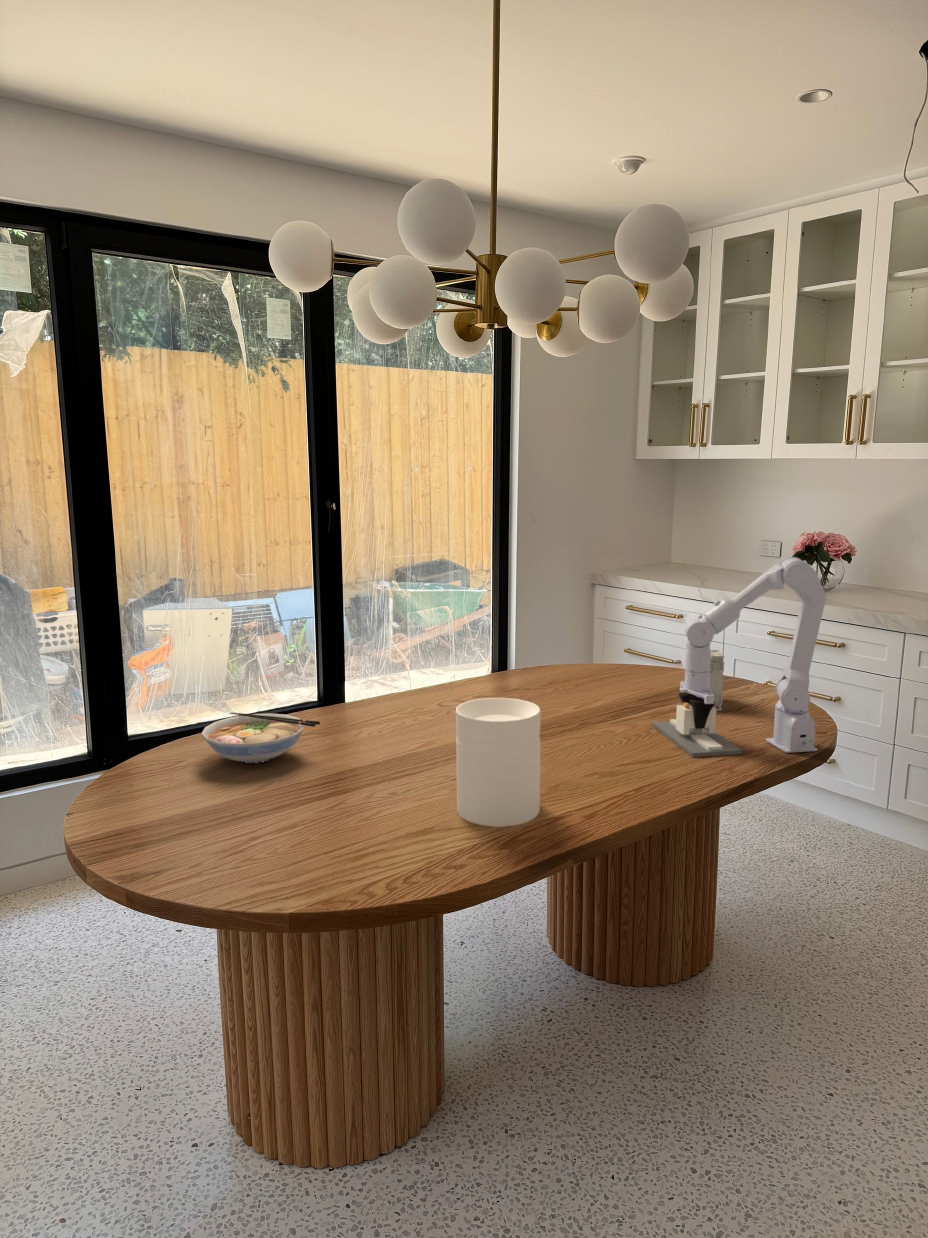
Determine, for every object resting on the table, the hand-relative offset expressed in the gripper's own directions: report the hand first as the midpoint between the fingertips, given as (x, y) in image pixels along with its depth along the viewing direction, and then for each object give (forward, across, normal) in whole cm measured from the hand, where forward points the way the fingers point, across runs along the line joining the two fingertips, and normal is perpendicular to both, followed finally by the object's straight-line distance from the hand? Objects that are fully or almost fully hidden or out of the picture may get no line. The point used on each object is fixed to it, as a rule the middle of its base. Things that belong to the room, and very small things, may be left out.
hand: (695, 725), depth 198 cm
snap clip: (+1, 0, 0) cm, 1 cm away
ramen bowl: (+4, -5, -104) cm, 104 cm away
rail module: (+2, 0, 0) cm, 2 cm away
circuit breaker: (+4, -30, +16) cm, 34 cm away
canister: (+4, +33, -55) cm, 64 cm away
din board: (+4, 0, 0) cm, 4 cm away
